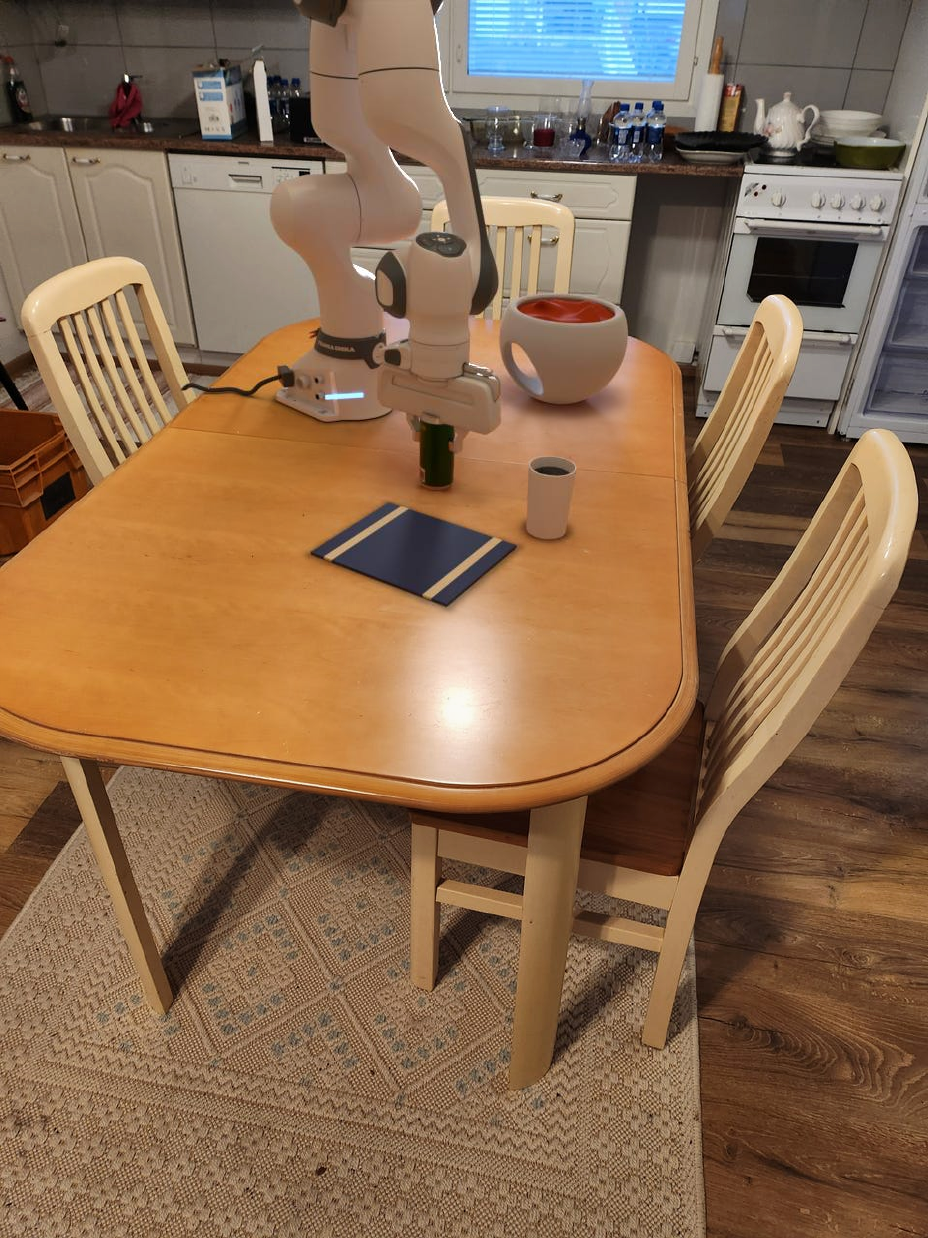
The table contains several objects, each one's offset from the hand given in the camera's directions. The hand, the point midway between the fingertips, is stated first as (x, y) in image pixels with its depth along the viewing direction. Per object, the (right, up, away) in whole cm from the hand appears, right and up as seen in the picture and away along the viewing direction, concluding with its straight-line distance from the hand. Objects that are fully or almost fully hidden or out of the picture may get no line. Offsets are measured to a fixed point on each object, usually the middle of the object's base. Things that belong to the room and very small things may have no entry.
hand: (437, 446), depth 133 cm
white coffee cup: (+16, -14, -7) cm, 22 cm away
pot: (+22, +17, +37) cm, 46 cm away
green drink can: (0, -5, +4) cm, 6 cm away
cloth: (-3, -17, -14) cm, 22 cm away
